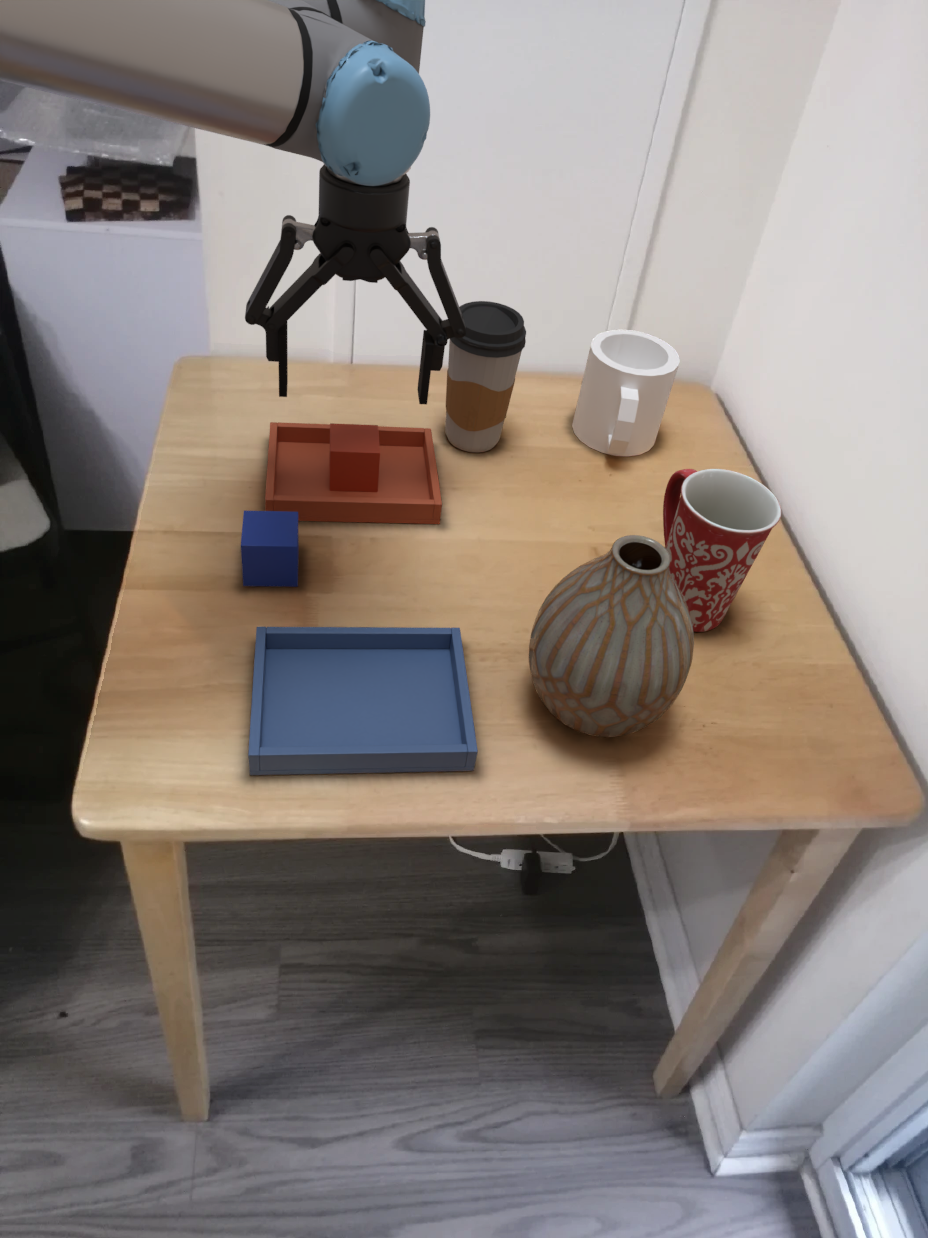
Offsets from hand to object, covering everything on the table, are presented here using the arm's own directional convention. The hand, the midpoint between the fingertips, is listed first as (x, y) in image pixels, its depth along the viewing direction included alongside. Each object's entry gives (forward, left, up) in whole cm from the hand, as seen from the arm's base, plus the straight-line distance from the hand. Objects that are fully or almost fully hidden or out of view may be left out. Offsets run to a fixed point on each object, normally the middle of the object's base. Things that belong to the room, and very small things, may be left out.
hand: (353, 393), depth 92 cm
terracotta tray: (0, 0, -11) cm, 11 cm away
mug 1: (+11, +31, -11) cm, 35 cm away
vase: (+37, -3, -11) cm, 38 cm away
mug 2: (+33, +15, -11) cm, 38 cm away
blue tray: (+24, -19, -11) cm, 33 cm away
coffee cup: (+2, +17, -11) cm, 20 cm away
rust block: (0, 0, -10) cm, 10 cm away
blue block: (+6, -15, -11) cm, 19 cm away
